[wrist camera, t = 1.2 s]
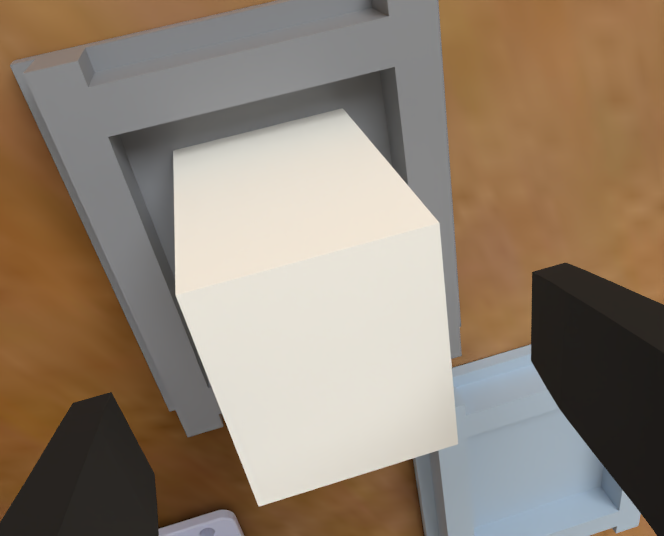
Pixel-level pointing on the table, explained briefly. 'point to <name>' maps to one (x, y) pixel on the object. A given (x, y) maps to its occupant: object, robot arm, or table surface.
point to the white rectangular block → (313, 302)
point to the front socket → (228, 120)
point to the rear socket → (515, 462)
